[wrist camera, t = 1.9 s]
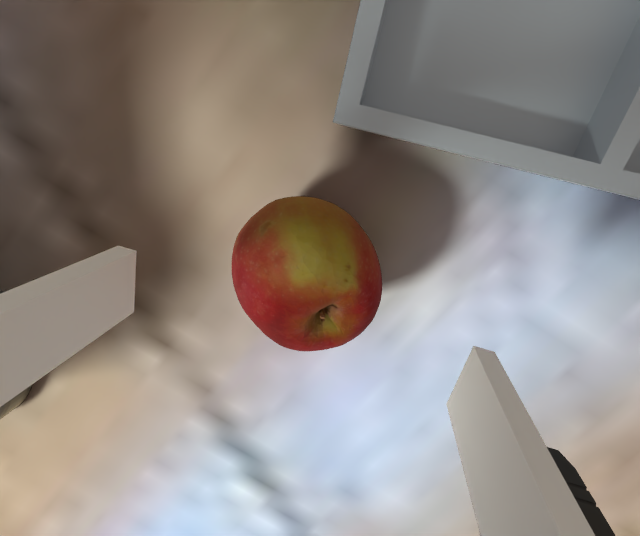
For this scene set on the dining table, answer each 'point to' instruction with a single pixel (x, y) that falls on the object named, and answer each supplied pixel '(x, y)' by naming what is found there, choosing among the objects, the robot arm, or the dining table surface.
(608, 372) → the dining table surface
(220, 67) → the dining table surface
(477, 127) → the tray
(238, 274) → the apple
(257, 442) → the dining table surface
